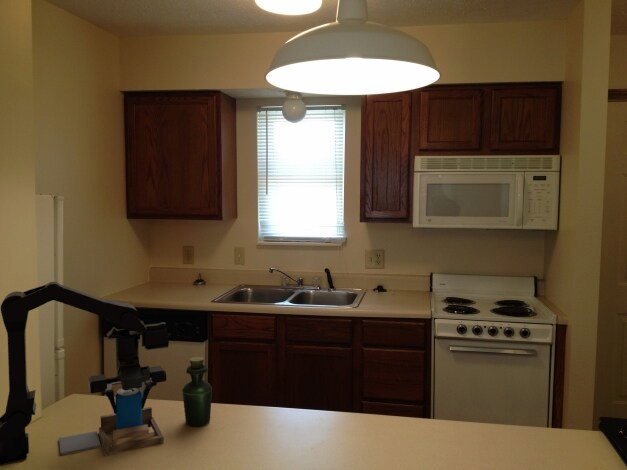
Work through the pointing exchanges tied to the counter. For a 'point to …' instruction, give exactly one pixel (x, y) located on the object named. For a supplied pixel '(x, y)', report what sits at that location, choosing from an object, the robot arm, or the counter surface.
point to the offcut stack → (131, 434)
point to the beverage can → (128, 408)
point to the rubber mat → (79, 442)
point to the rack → (110, 424)
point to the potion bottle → (197, 395)
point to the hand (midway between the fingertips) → (128, 410)
